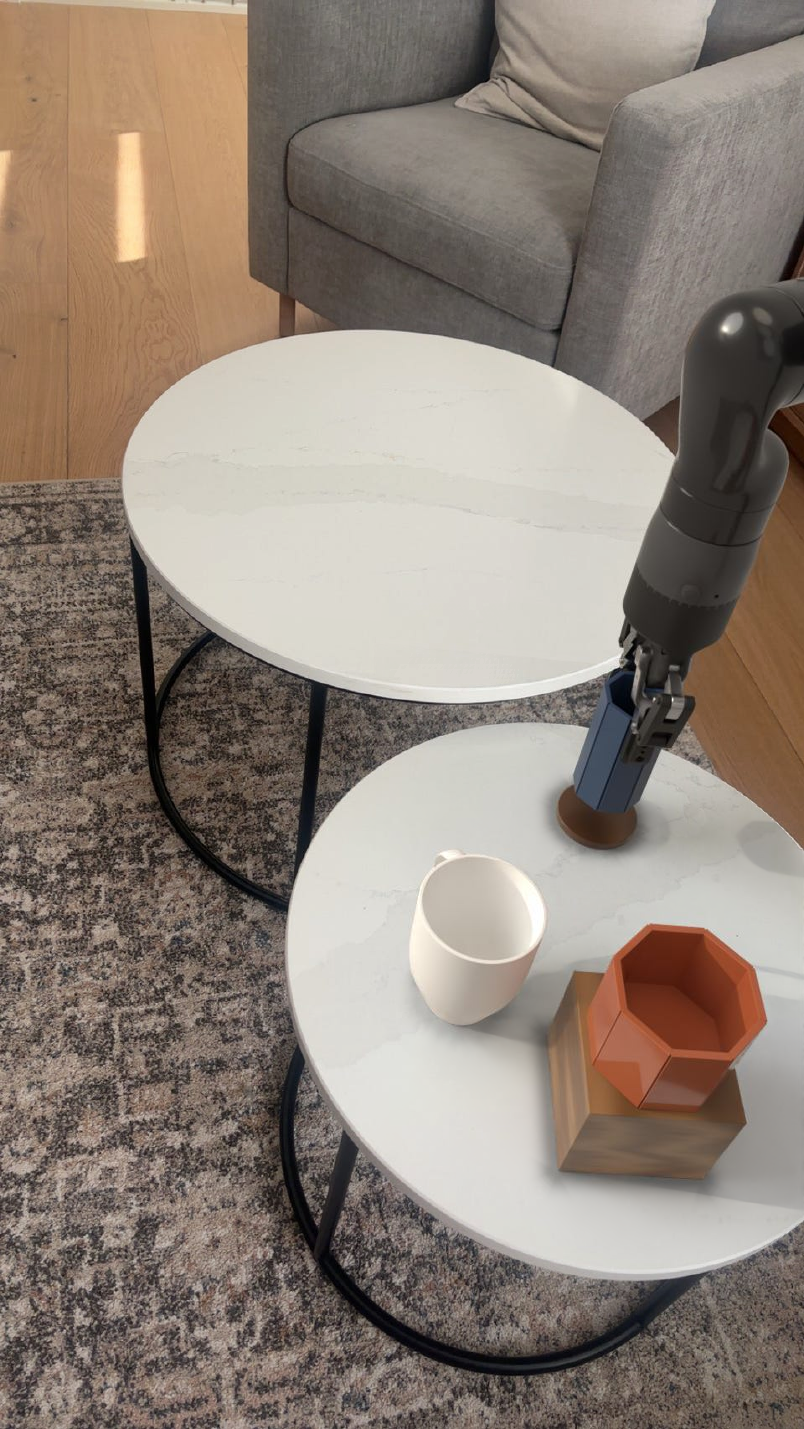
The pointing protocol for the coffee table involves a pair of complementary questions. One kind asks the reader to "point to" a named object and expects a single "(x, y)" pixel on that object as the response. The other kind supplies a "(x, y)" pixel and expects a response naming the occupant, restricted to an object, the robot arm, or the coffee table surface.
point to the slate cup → (612, 751)
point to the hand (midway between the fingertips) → (628, 731)
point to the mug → (474, 935)
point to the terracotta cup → (673, 1017)
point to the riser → (626, 1109)
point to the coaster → (594, 823)
